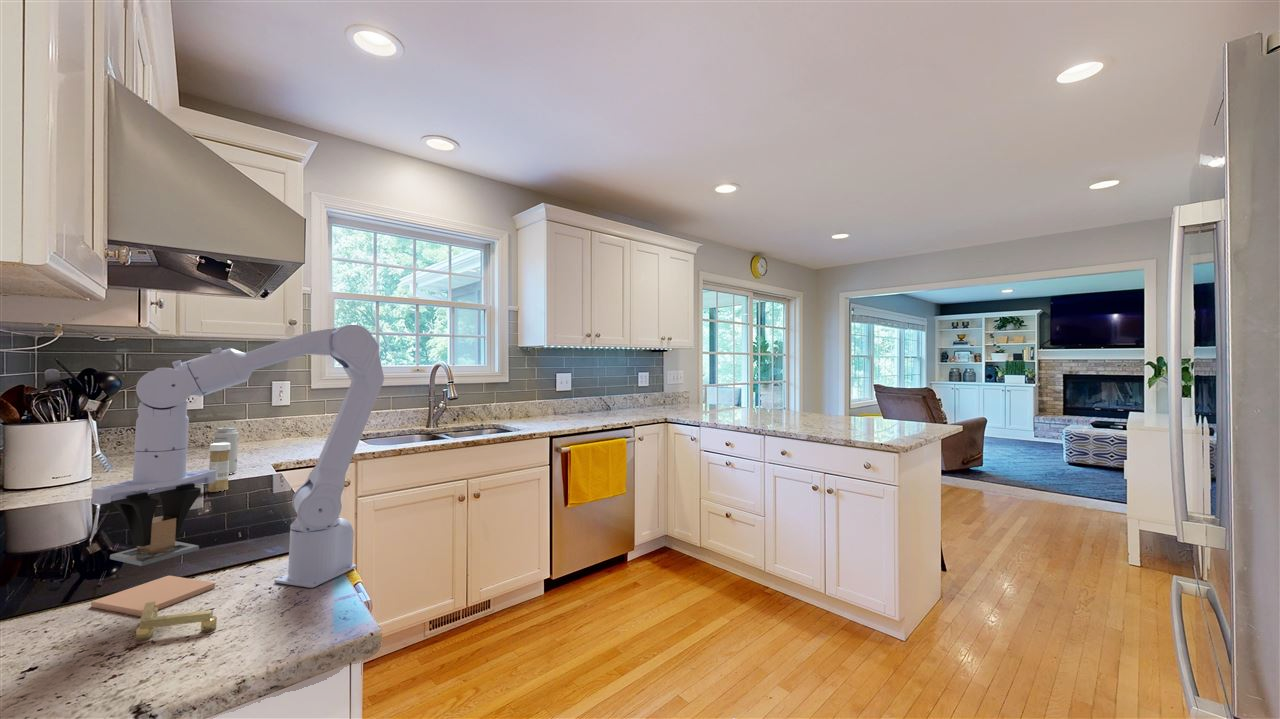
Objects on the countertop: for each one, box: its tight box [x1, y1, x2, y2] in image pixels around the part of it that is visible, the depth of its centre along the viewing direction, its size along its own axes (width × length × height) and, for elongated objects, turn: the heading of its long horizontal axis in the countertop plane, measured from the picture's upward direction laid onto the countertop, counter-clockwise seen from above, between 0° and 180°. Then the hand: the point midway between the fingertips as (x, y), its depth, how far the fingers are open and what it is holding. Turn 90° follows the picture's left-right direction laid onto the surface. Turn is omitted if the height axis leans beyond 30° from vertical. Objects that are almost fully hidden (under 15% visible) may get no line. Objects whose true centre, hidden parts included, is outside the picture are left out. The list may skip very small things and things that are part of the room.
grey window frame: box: [109, 515, 200, 567], centre depth 74 cm, size 7×7×5 cm
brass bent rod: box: [135, 601, 218, 642], centre depth 68 cm, size 6×12×2 cm, turn 77°
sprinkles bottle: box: [207, 442, 231, 493], centre depth 143 cm, size 5×5×14 cm
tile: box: [90, 575, 216, 617], centre depth 78 cm, size 10×10×1 cm
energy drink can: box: [213, 426, 239, 474], centre depth 164 cm, size 6×6×15 cm
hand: (156, 541), depth 74 cm, fingers closed on grey window frame, 3 cm apart
